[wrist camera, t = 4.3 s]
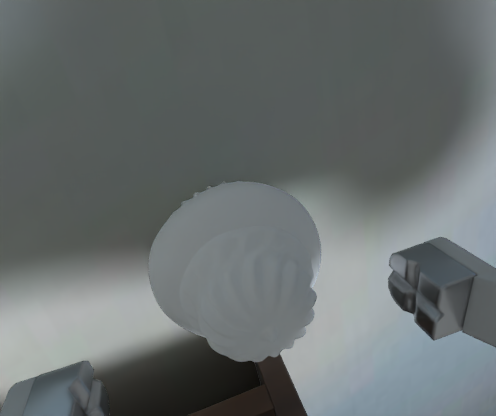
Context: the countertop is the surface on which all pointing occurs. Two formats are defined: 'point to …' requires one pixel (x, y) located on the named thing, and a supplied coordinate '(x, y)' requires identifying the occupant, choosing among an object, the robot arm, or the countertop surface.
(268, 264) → the muffin
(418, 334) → the countertop surface
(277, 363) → the shelf
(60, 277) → the countertop surface
